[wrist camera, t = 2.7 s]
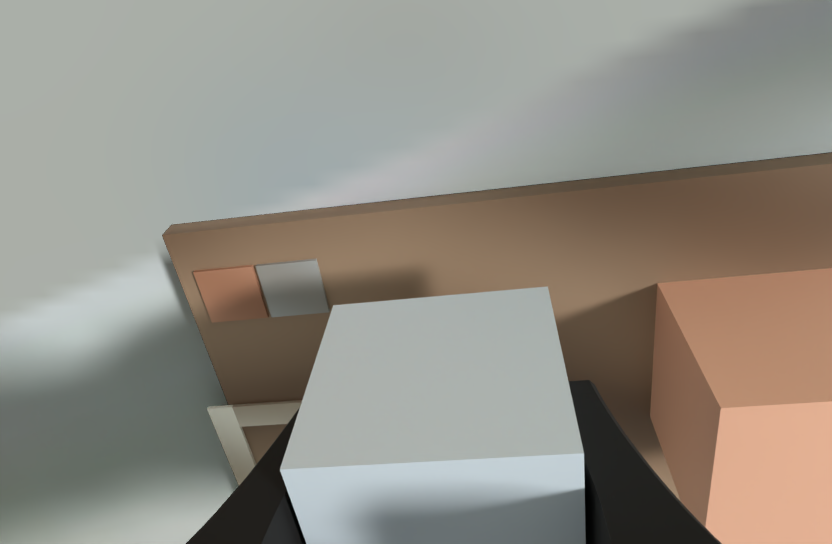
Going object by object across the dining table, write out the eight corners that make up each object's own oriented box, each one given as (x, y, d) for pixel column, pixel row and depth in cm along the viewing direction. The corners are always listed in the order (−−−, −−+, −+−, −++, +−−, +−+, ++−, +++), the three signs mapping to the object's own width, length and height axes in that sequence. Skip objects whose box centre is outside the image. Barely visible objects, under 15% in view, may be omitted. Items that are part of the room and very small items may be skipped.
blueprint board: (785, 528, 21) (795, 547, 20) (276, 547, 23) (271, 565, 23) (872, 148, 14) (890, 159, 14) (148, 227, 17) (136, 239, 16)
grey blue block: (555, 446, 15) (587, 634, 11) (371, 455, 16) (340, 639, 12) (548, 286, 13) (583, 453, 9) (333, 305, 13) (279, 469, 9)
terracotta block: (817, 406, 17) (919, 550, 14) (650, 416, 18) (701, 558, 14) (850, 266, 15) (983, 392, 11) (657, 283, 16) (720, 408, 12)
